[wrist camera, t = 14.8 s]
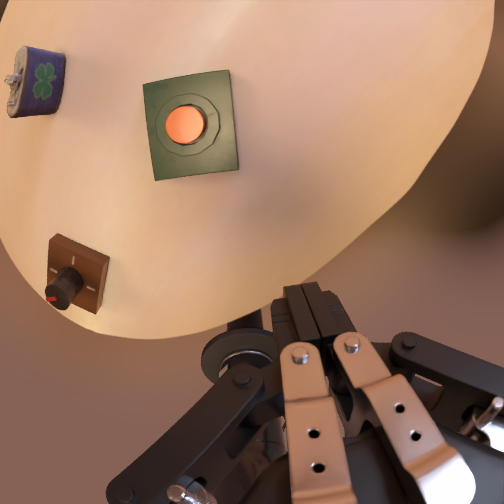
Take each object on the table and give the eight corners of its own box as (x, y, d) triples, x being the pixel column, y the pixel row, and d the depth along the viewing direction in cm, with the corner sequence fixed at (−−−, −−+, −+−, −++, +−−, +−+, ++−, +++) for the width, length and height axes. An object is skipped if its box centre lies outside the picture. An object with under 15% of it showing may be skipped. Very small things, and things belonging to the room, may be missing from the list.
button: (207, 139, 28) (205, 140, 26) (171, 145, 28) (167, 146, 26) (203, 104, 26) (201, 103, 25) (167, 110, 26) (163, 109, 25)
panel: (101, 305, 41) (95, 315, 39) (53, 282, 39) (46, 291, 36) (109, 257, 37) (102, 265, 35) (57, 233, 35) (48, 240, 33)
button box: (238, 167, 33) (238, 172, 29) (159, 177, 33) (150, 184, 29) (229, 72, 28) (228, 66, 24) (148, 86, 28) (137, 82, 24)
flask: (54, 55, 23) (7, 46, 13) (69, 52, 23) (23, 40, 14) (45, 115, 27) (-4, 121, 17) (60, 113, 27) (11, 118, 18)
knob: (76, 264, 35) (59, 283, 30) (87, 289, 37) (73, 310, 32) (56, 269, 35) (39, 287, 30) (68, 292, 37) (53, 312, 32)
